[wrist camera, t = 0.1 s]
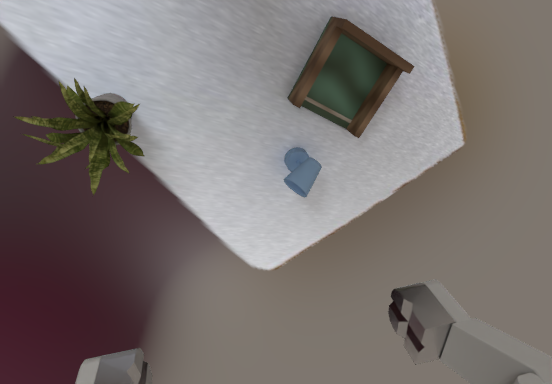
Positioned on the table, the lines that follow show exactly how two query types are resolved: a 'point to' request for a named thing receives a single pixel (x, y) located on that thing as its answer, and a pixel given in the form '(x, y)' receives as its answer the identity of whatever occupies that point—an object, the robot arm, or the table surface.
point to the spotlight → (301, 171)
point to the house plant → (91, 130)
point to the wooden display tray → (347, 76)
